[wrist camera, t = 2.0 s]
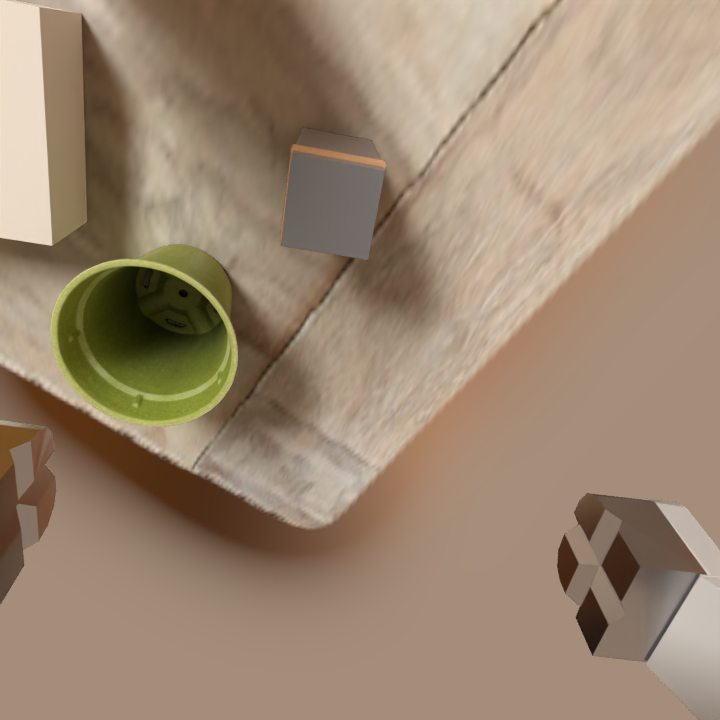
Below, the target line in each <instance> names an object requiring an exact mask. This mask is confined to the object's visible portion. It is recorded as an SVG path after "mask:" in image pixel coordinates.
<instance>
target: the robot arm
mask: <svg viewBox="0 0 720 720" xmlns="http://www.w3.org/2000/svg"><path fill="white" fill-rule="evenodd" d="M53 452H54V448H53V439H52V433H51V431H50V430H49V429H48V428H47V427H42V426H36V425H28V424H22V423H15V422H7V421H0V604H1V603H2V601H3V600H4V598H5V596H6V595H7V593H8V591H9V590H10V588H11V586H12V585H13V583H14V581H15V580H16V578H17V576H18V575H19V573H20V572H21V570H22V568H23V567H24V556H23V550H24V549H26V548H28V547H29V546H31V545H33V544H35V543H36V542H38V541H39V540H40V538H41V536H42V535H43V533H44V531H45V529H46V527H47V526H48V523H49V520H50V517H51V514H52V511H53V508H54V503H55V494H56V479H55V476H54V475H53V473H52V472H51V471H50V470H49V469H48V468H47V466H46V465H45V464H46V463H47V461H48V459H49V458H50V457H51V455H52V454H53ZM574 514H575V516H576V519H577V522H578V525H576V526H575V527H573V528H572V529H571V530H569V531H568V532H566V533H565V534H564V536H563V539H562V542H561V544H560V547H559V549H558V564H557V568H558V573H559V579H560V582H561V584H562V587H563V589H564V592H565V594H567V595H568V596H569V597H570V598H571V599H572V600H573V601H574V602H576V603H577V604H578V605H579V606H580V607H579V610H578V613H577V615H576V619H577V622H578V624H579V626H580V628H581V631H582V633H583V635H584V637H585V640H586V642H587V644H588V647H589V649H590V651H591V653H592V655H593V656H599V657H608V658H616V659H625V660H634V661H642V662H647V663H646V666H647V667H648V668H649V669H650V670H652V672H653V673H654V674H655V675H656V676H657V677H658V678H659V679H660V680H661V681H662V682H663V683H664V684H665V685H666V686H667V687H668V689H670V691H671V692H672V693H673V694H674V695H675V696H676V697H677V698H678V699H679V700H680V701H681V702H682V703H683V704H684V705H685V706H686V707H687V708H688V709H689V710H690V711H691V713H692V714H693V715H694V716H695V717H696V718H697V719H698V720H720V550H719V549H718V547H717V546H716V545H715V544H714V542H713V541H712V540H711V539H710V538H709V536H708V535H707V534H706V532H705V531H704V530H703V529H702V527H701V526H700V525H699V523H698V522H697V521H696V520H695V518H694V517H693V516H692V514H691V513H690V512H689V511H688V509H687V508H686V507H684V506H683V505H681V504H679V503H678V502H672V501H662V500H651V499H646V500H641V499H632V498H623V497H615V496H606V495H598V494H589V493H587V494H586V495H585V496H584V497H583V498H582V499H581V500H580V501H579V503H578V506H577V507H576V510H575V512H574Z"/></svg>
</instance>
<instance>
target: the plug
mask: <svg viewBox="0 0 720 720" xmlns="http://www.w3.org/2000/svg"><path fill="white" fill-rule="evenodd" d="M385 168H386V164H385V161H384V160H380V158H379V156H378V153H377V151H376V149H375V146H374V144H373V142H372V140H367V139H362V138H356V137H351V136H346V135H340V134H335V133H330V132H324V131H319V130H314V129H308V128H302V131H301V133H300V135H299V138H298V140H297V143H296V144H293V145H292V147H291V154H290V162H289V170H288V179H287V187H286V195H285V203H284V212H283V220H282V228H281V236H280V241H281V246H285V247H291V248H297V249H303V250H309V251H315V252H322V253H328V254H334V255H340V256H346V257H352V258H358V259H365V260H368V258H369V252H370V247H371V242H372V237H373V232H374V226H375V221H376V216H377V211H378V206H379V201H380V195H381V190H382V185H383V180H384V175H385Z"/></svg>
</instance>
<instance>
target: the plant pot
mask: <svg viewBox="0 0 720 720" xmlns="http://www.w3.org/2000/svg"><path fill="white" fill-rule="evenodd" d="M148 269H152V270H153V273H152V275H151V277H150V280H149V287H148V288H147V289H146V288H145V287H144V285H143V280H144V277H145V273H146V272H147V270H148ZM182 289H183V290H185V291H187V296H185V297H182V296H181V295H179V291H180V290H182ZM231 305H232V288H231V284H230V282H229V279H228V277H227V275H226V273H225V272H224V270H223V268H222V267H221V265H220V264H219V263H218V262H217V261H216V260H215V259H214V258H213V257H212V256H210V255H209V254H207V253H206V252H204V251H202V250H200V249H198V248H195V247H192V246H187V245H168V246H164V247H160V248H158V249H156V250H153V251H151V252H149V253H148V254H146V255H144V256H142V257H140V258H138V259H131V258H128V259H117V260H112V261H107V262H103V263H100V264H98V265H95V266H93V267H91V268H89V269H87V270H85V271H84V272H82V273H80V274H79V275H78V276H76V277H75V278H74V279H73V280H71V282H70V283H69V284H68V285H67V286H66V287H65V288H64V290H63V291H62V292H61V294H60V296H59V297H58V299H57V301H56V304H55V306H54V309H53V313H52V318H51V326H50V336H51V345H52V349H53V352H54V356H55V359H56V361H57V364H58V366H59V368H60V370H61V372H62V373H63V375H64V376H65V378H66V380H67V381H68V383H69V384H70V386H71V387H72V388H73V389H74V390H75V391H76V392H77V393H78V394H79V395H80V396H81V397H82V398H83V399H84V400H85V401H87V402H88V403H89V404H91V405H92V406H93V407H95V408H97V409H98V410H100V411H102V412H103V413H105V414H107V415H109V416H111V417H113V418H115V419H118V420H121V421H124V422H127V423H131V424H134V425H140V426H151V427H163V426H174V425H178V424H182V423H186V422H189V421H192V420H194V419H197V418H199V417H200V416H202V415H204V414H206V413H208V412H209V411H211V410H212V409H213V408H214V407H215V406H216V405H217V404H219V403H220V401H221V400H222V399H223V398H224V397H225V395H226V394H227V392H228V391H229V389H230V387H231V385H232V383H233V381H234V378H235V375H236V371H237V366H238V343H237V337H236V333H235V330H234V327H233V324H232V322H231V320H230V316H231ZM215 309H216V310H217V312H218V313H216V312H215V311H214V310H215ZM166 318H169V319H171V320H173V321H175V322H178V323H182V324H185V325H186V326H185V327H183V328H181V327H177V326H174V325H171V324H169V323H167V321H166V320H165V319H166Z"/></svg>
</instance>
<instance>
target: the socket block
mask: <svg viewBox="0 0 720 720" xmlns="http://www.w3.org/2000/svg"><path fill="white" fill-rule="evenodd" d="M86 222H87V193H86V156H85V120H84V84H83V48H82V14H81V13H76V12H71V11H66V10H61V9H56V8H51V7H46V6H41V5H36V4H31V3H26V2H21V1H16V0H0V238H5V239H12V240H18V241H25V242H31V243H37V244H44V245H50V246H53V245H54V244H56V243H57V242H59V241H60V240H62V239H63V238H64V237H66V236H67V235H69V234H70V233H72V232H73V231H75V230H76V229H78V228H79V227H80V226H82V225H83V224H85V223H86Z"/></svg>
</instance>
